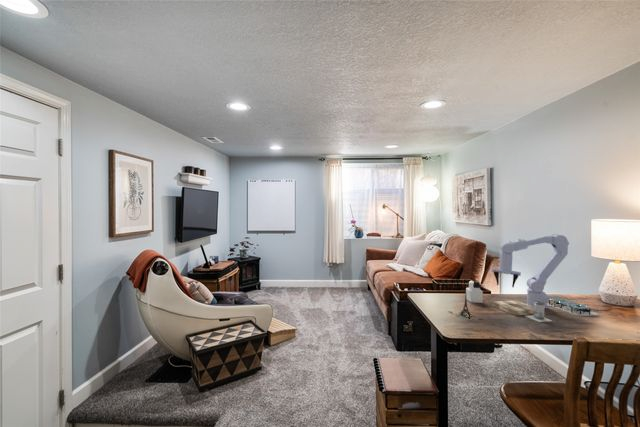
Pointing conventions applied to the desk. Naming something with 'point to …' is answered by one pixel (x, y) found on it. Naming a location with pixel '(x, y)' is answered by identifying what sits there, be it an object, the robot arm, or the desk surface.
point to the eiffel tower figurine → (463, 311)
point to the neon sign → (573, 307)
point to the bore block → (514, 307)
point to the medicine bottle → (474, 292)
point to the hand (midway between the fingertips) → (505, 285)
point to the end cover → (539, 310)
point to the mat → (538, 319)
